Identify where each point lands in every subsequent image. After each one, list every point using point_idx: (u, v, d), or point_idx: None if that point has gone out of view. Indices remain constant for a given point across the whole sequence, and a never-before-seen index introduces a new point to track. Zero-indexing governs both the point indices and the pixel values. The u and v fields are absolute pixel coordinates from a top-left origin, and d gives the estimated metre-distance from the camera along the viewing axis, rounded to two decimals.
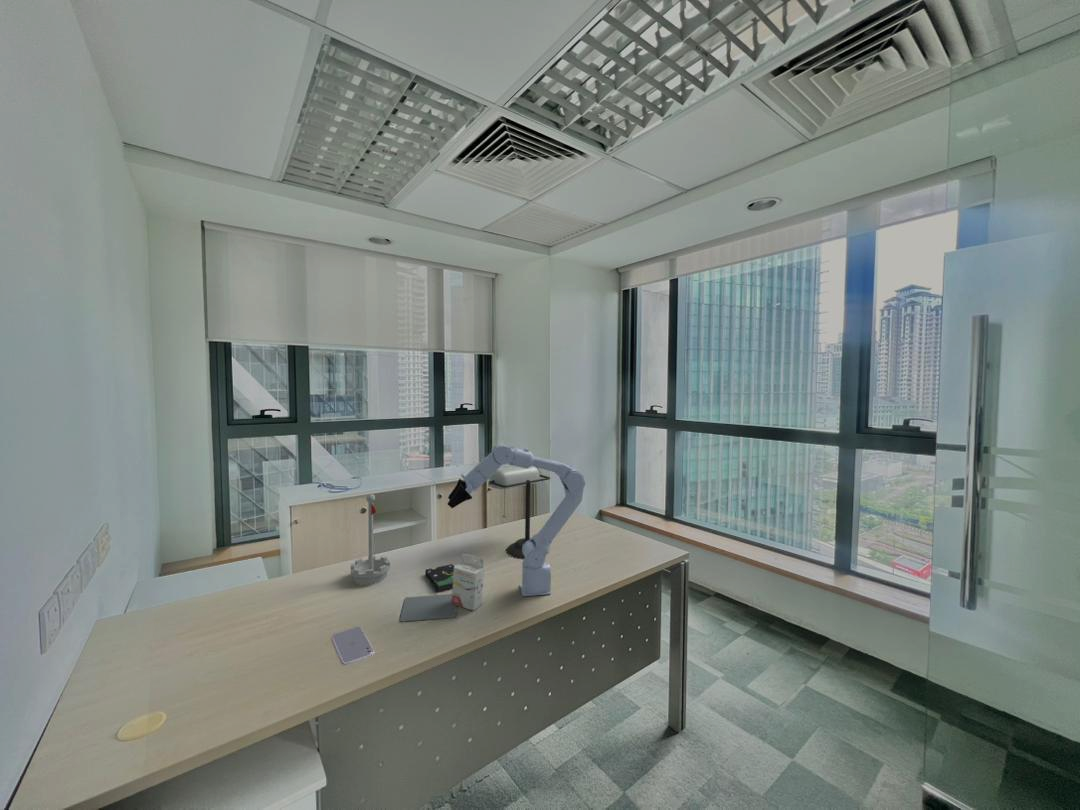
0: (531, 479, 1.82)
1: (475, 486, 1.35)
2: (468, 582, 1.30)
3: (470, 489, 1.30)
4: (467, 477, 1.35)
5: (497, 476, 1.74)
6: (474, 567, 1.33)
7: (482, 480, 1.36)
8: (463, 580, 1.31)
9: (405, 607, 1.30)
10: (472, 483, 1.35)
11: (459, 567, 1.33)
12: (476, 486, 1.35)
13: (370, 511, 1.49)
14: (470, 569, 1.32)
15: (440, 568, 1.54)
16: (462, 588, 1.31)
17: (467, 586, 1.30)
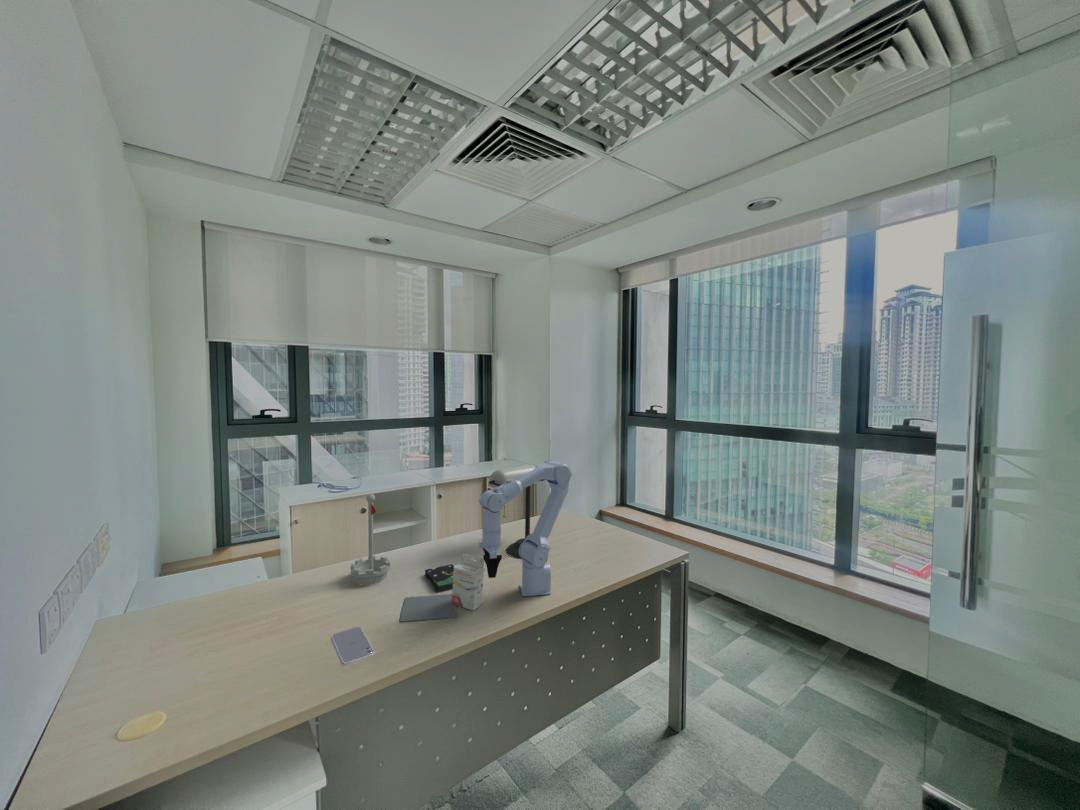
0: None
1: (496, 544, 1.32)
2: (468, 582, 1.30)
3: (493, 554, 1.27)
4: (484, 543, 1.32)
5: (497, 476, 1.74)
6: (474, 567, 1.33)
7: (497, 535, 1.32)
8: (463, 580, 1.31)
9: (405, 607, 1.30)
10: (492, 545, 1.31)
11: (459, 567, 1.33)
12: (497, 543, 1.32)
13: (370, 511, 1.49)
14: (470, 569, 1.32)
15: (440, 568, 1.54)
16: (461, 588, 1.31)
17: (467, 586, 1.30)
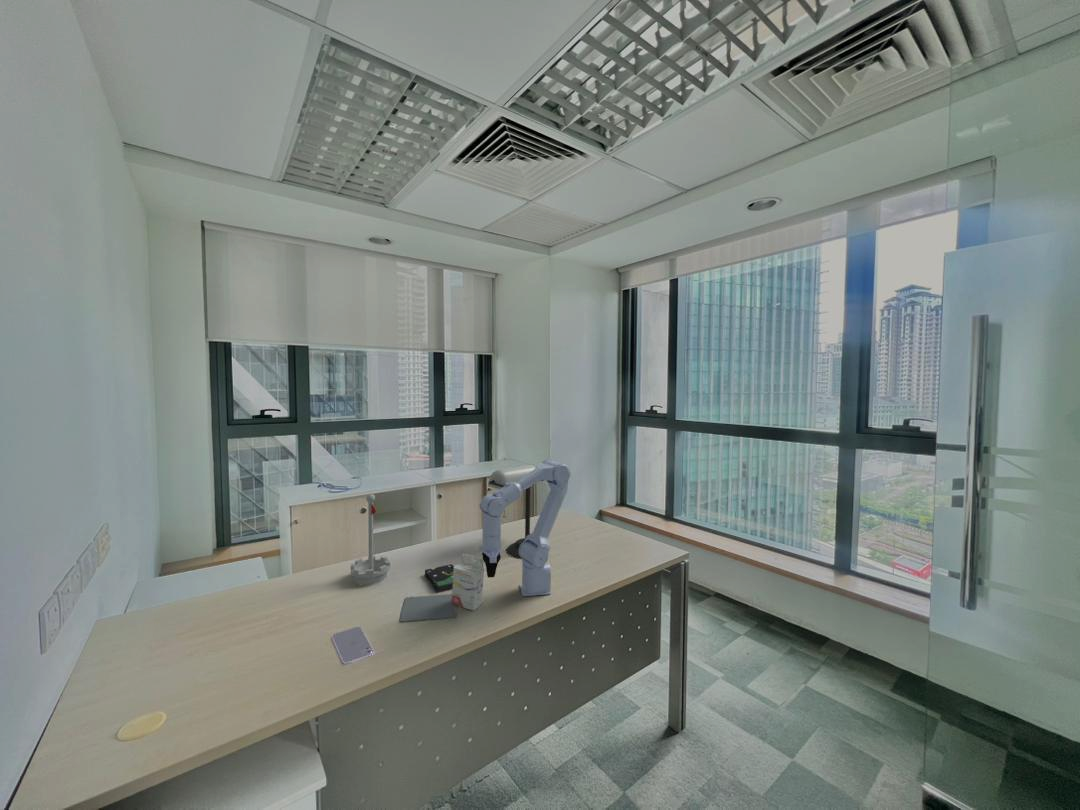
0: None
1: (496, 548, 1.32)
2: (468, 582, 1.30)
3: (493, 558, 1.27)
4: (484, 548, 1.32)
5: (497, 476, 1.74)
6: (474, 567, 1.33)
7: (497, 539, 1.32)
8: (463, 580, 1.31)
9: (405, 607, 1.30)
10: (492, 549, 1.31)
11: (459, 567, 1.33)
12: (497, 548, 1.32)
13: (370, 511, 1.49)
14: (470, 569, 1.31)
15: (440, 568, 1.54)
16: (461, 589, 1.31)
17: (467, 587, 1.30)
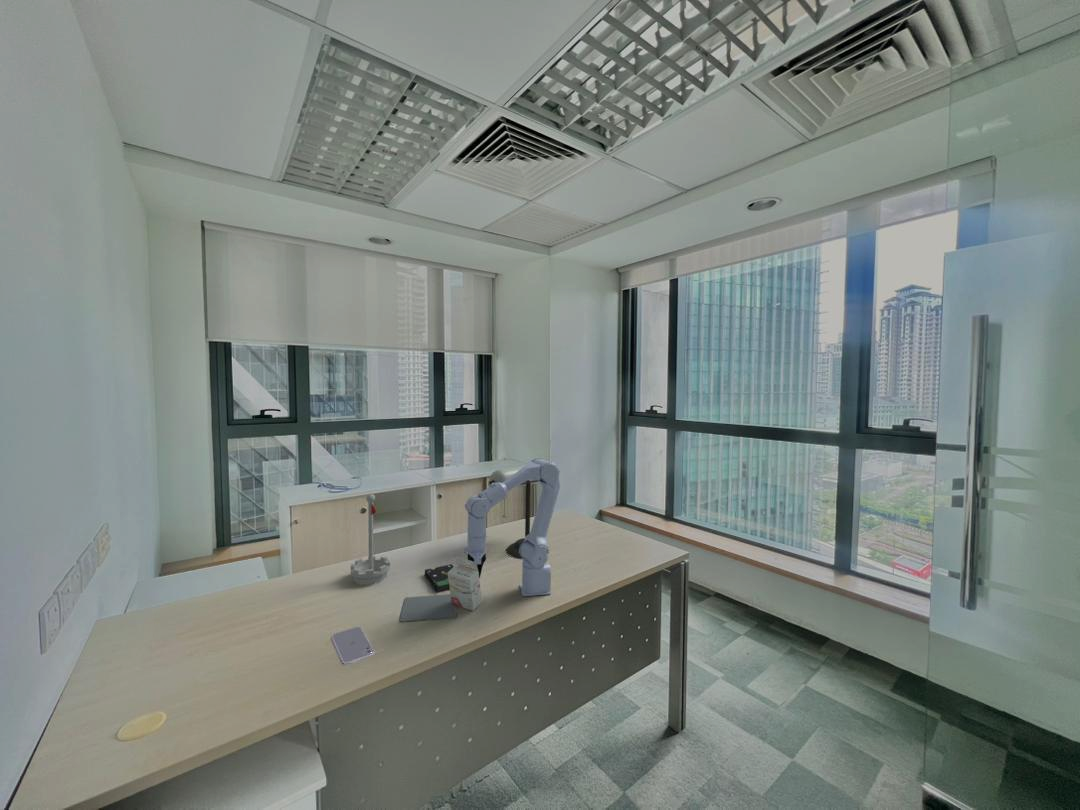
0: None
1: (481, 550, 1.31)
2: (464, 587, 1.28)
3: (478, 560, 1.26)
4: (469, 549, 1.31)
5: (497, 476, 1.74)
6: (468, 570, 1.30)
7: (482, 540, 1.31)
8: (459, 585, 1.29)
9: (405, 607, 1.30)
10: (477, 550, 1.30)
11: (453, 571, 1.30)
12: (482, 549, 1.31)
13: (370, 511, 1.49)
14: (464, 573, 1.28)
15: (439, 568, 1.54)
16: (458, 592, 1.30)
17: (464, 590, 1.28)
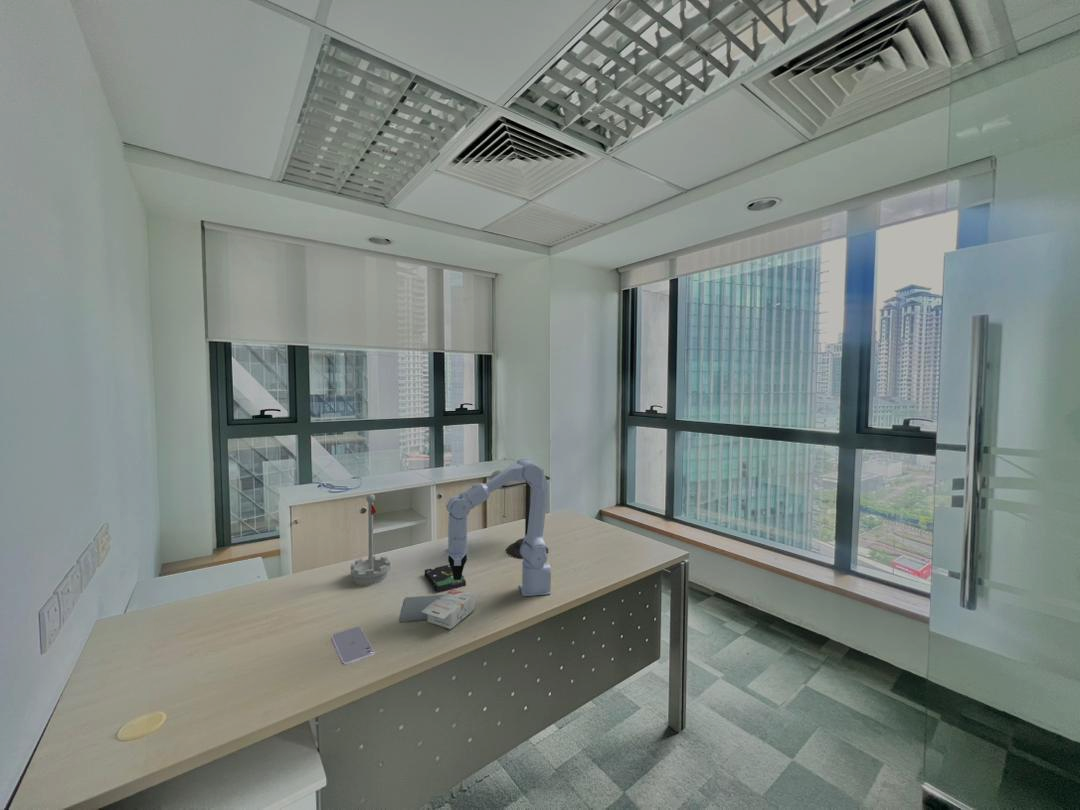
0: None
1: (462, 551, 1.30)
2: None
3: (457, 561, 1.25)
4: (449, 550, 1.30)
5: None
6: None
7: (462, 541, 1.30)
8: None
9: (405, 607, 1.30)
10: (457, 551, 1.29)
11: (432, 619, 1.22)
12: (463, 550, 1.30)
13: (370, 511, 1.49)
14: (441, 621, 1.20)
15: (439, 568, 1.54)
16: None
17: None
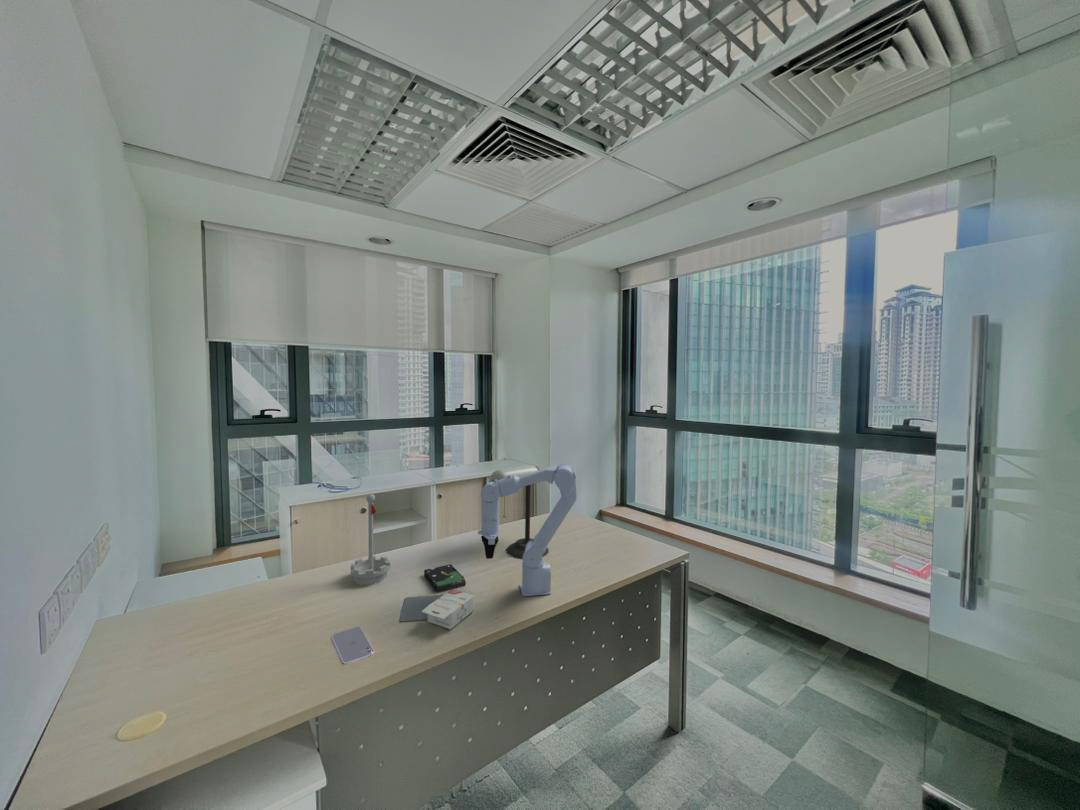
0: None
1: (494, 532, 1.41)
2: None
3: (491, 540, 1.37)
4: (483, 531, 1.42)
5: (497, 476, 1.74)
6: None
7: (495, 523, 1.42)
8: None
9: (405, 607, 1.30)
10: (490, 532, 1.41)
11: (432, 619, 1.22)
12: (495, 531, 1.42)
13: (370, 511, 1.49)
14: (441, 621, 1.20)
15: (439, 568, 1.54)
16: None
17: None
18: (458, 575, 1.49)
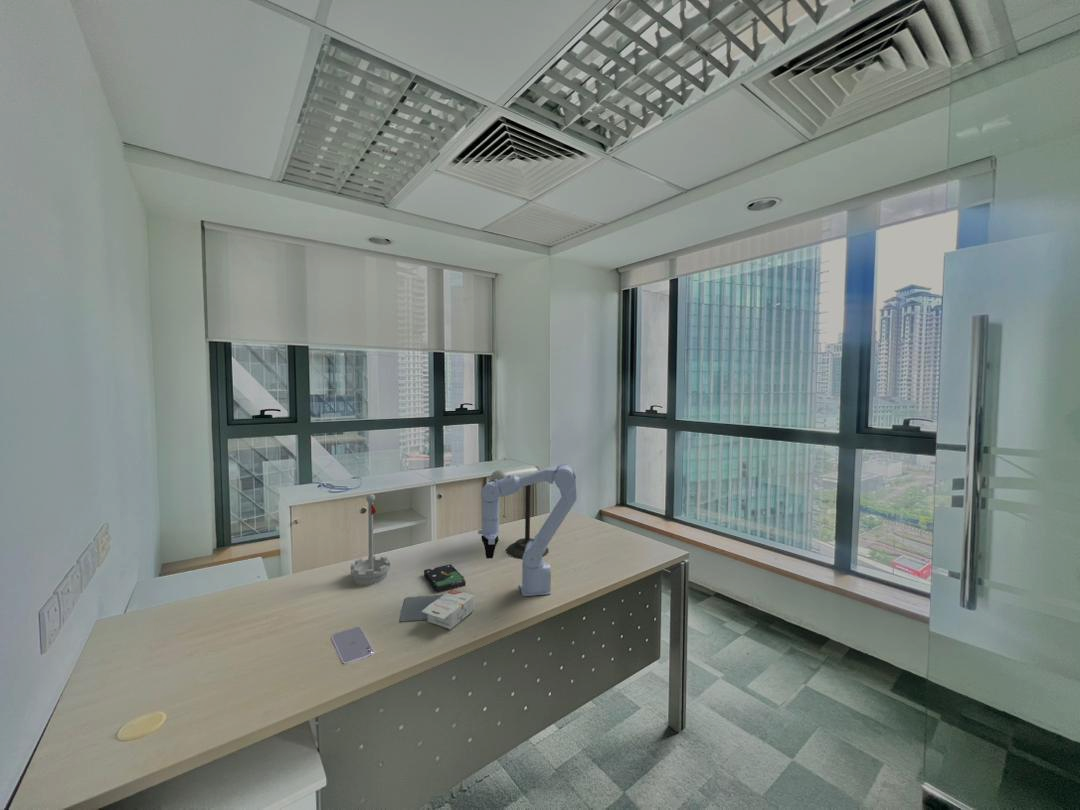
0: None
1: (494, 531, 1.42)
2: None
3: (491, 540, 1.37)
4: (483, 531, 1.42)
5: (497, 476, 1.74)
6: None
7: (495, 523, 1.42)
8: None
9: (405, 607, 1.30)
10: (490, 532, 1.41)
11: (432, 619, 1.22)
12: (495, 531, 1.42)
13: (370, 511, 1.49)
14: (441, 621, 1.20)
15: (439, 568, 1.54)
16: None
17: None
18: (458, 575, 1.49)
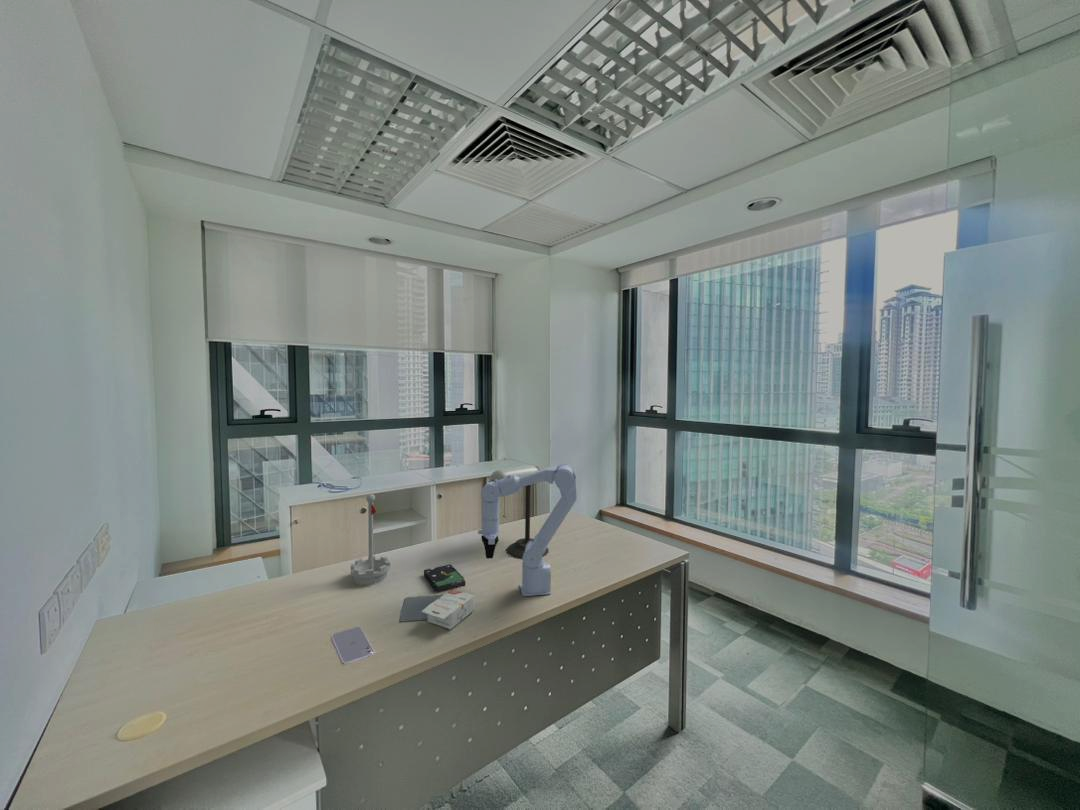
0: None
1: (494, 531, 1.42)
2: None
3: (491, 540, 1.37)
4: (483, 531, 1.42)
5: (497, 476, 1.74)
6: None
7: (495, 523, 1.42)
8: None
9: (405, 607, 1.30)
10: (490, 532, 1.41)
11: (432, 619, 1.22)
12: (495, 531, 1.42)
13: (370, 511, 1.49)
14: (441, 621, 1.20)
15: (439, 568, 1.54)
16: None
17: None
18: (458, 575, 1.49)
